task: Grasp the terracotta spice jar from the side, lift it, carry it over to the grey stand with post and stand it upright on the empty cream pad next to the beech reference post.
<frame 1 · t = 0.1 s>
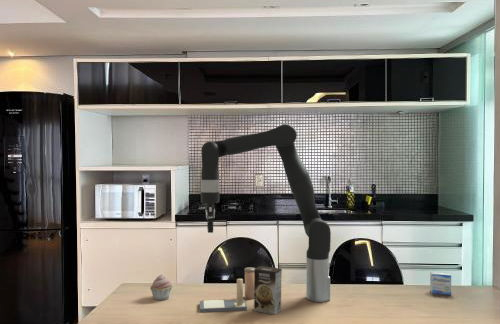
hand: (210, 230, 162), 29 cm above the table, tool pointing down, fingers open, 8 cm apart
grey stand with post: (222, 307, 157), on the table
coffee box: (267, 310, 153), on the table
cupcake: (161, 298, 167), on the table
spice jar: (249, 297, 168), on the table
medicine box: (440, 293, 175), on the table
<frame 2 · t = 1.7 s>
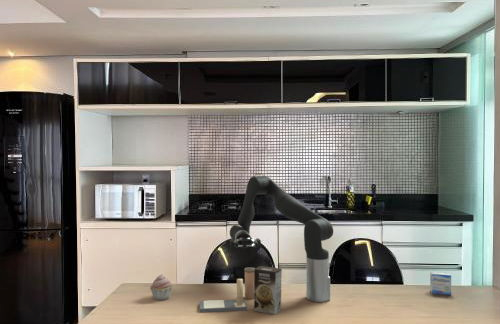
hand: (246, 245, 179), 20 cm above the table, tool horizontal, fingers open, 8 cm apart
nothing on the table moved.
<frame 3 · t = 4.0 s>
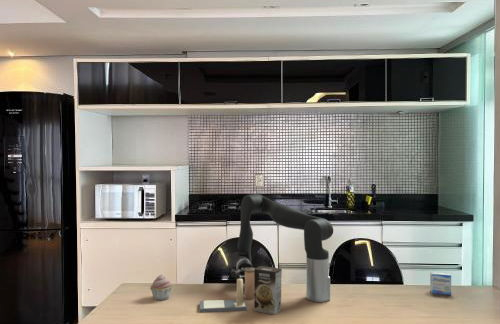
hand: (248, 277, 174), 7 cm above the table, tool horizontal, fingers open, 8 cm apart
nothing on the table moved.
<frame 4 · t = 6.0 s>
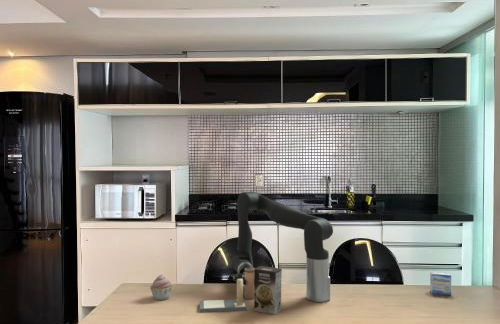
hand: (250, 282, 165), 7 cm above the table, tool horizontal, fingers closed on spice jar, 4 cm apart
spice jar: (250, 297, 168), on the table, touching gripper
everything else where it was.
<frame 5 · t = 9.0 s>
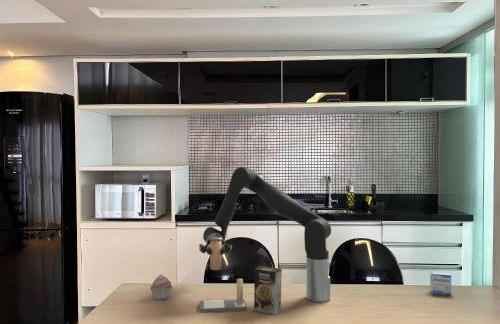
hand: (216, 252, 155), 22 cm above the table, tool horizontal, fingers closed on spice jar, 4 cm apart
spice jar: (215, 268, 158), point 15 cm above the table, touching gripper
everything else where it was.
when the fingers open (9 cm above the table, at t = 11.9 s): spice jar stays where it is, resting on grey stand with post.
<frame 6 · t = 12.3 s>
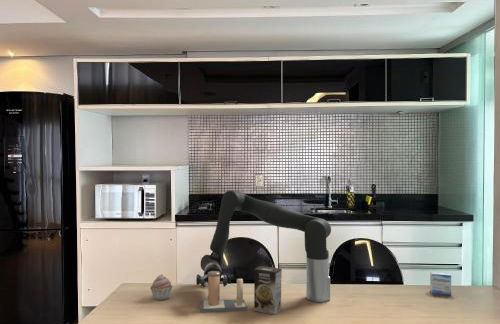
hand: (214, 284, 154), 10 cm above the table, tool horizontal, fingers open, 7 cm apart
spice jar: (213, 303, 156), point 1 cm above the table, touching grey stand with post
everything else where it was.
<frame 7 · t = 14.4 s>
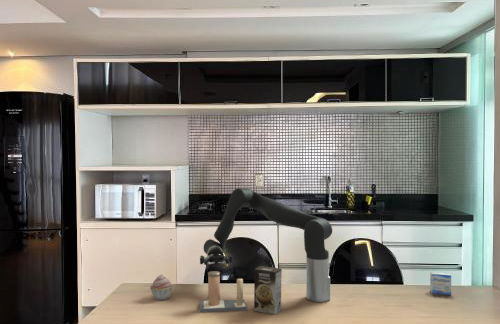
hand: (216, 262, 169), 14 cm above the table, tool horizontal, fingers open, 8 cm apart
nothing on the table moved.
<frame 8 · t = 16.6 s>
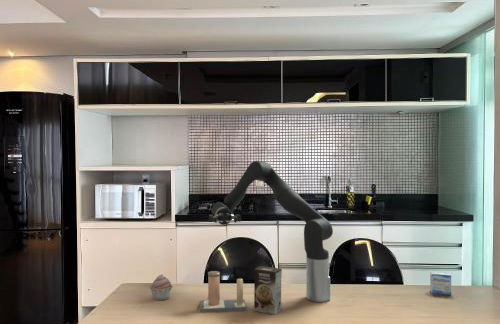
hand: (225, 220, 173), 32 cm above the table, tool horizontal, fingers open, 8 cm apart
nothing on the table moved.
at the end: spice jar inside the target area (0.1 cm from its centre), point 1.4 cm above the table; spice jar tilted 0°; the gripper is holding nothing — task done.
